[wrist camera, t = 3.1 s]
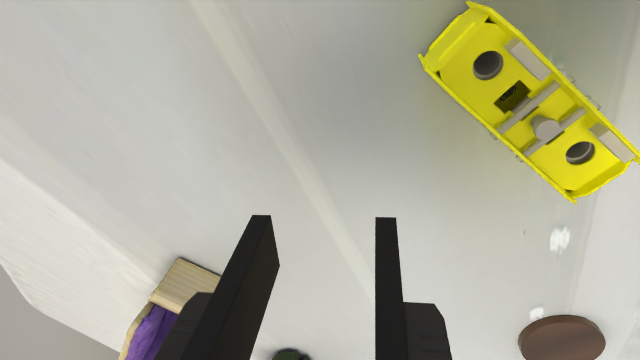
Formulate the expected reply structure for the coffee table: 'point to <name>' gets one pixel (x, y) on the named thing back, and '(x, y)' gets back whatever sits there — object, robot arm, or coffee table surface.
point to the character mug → (287, 356)
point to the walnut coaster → (561, 339)
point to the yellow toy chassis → (527, 103)
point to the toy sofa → (165, 309)
